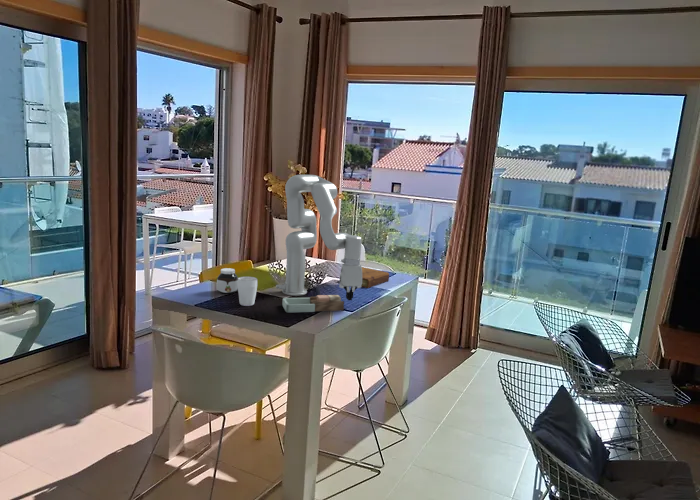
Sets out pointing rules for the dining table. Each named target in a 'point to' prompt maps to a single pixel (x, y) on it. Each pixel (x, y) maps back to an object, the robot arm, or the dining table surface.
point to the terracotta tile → (322, 298)
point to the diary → (373, 277)
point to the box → (298, 305)
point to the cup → (247, 290)
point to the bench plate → (327, 305)
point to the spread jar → (227, 281)
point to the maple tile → (334, 298)
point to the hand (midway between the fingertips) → (349, 299)
